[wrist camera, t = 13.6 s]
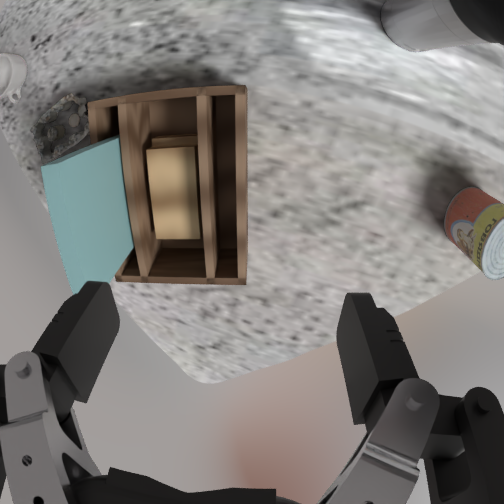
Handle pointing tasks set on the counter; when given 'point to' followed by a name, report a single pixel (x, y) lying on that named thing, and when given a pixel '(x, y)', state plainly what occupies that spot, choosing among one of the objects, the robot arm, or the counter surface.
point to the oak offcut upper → (175, 191)
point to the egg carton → (59, 128)
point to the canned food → (478, 229)
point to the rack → (210, 171)
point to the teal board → (89, 211)
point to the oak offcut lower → (175, 140)
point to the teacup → (12, 75)
